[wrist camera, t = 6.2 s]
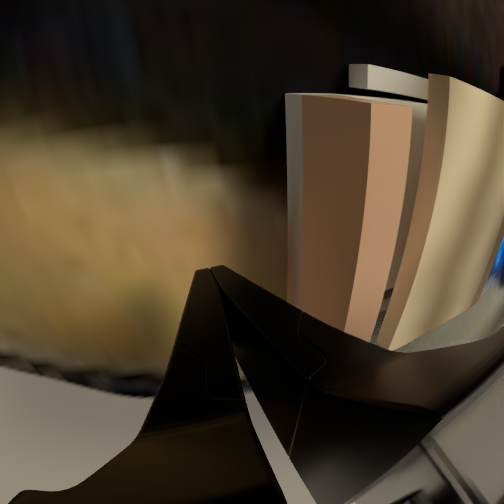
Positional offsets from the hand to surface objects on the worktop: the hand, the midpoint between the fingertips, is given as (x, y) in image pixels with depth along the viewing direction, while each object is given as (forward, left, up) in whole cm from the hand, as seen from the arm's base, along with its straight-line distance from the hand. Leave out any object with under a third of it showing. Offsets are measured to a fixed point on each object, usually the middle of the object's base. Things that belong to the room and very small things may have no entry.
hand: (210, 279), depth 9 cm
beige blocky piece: (-10, 0, -3) cm, 11 cm away
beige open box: (-11, 0, -3) cm, 12 cm away
